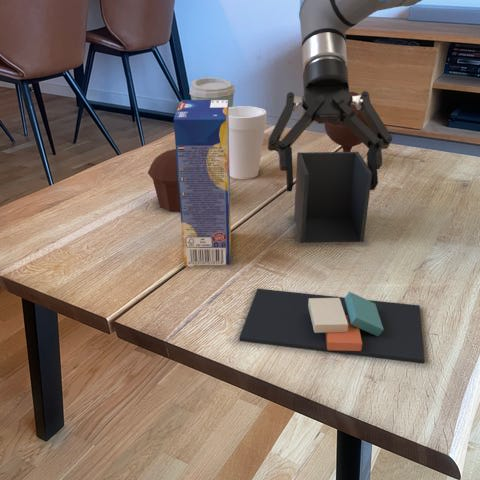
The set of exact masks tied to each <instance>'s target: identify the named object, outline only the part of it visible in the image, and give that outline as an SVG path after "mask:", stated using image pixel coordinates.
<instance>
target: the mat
mask: <svg viewBox="0 0 480 480" xmlns="http://www.w3.org/2000/svg"><path fill="white" fill-rule="evenodd" d="M309 298H340V301H341V304H342V307H343V310H344V313H345V315H348V311H347V307H346V302H345V297H343V296H335V295H334V296H332V295H322V294H316V293H315V294H313V293H303V292H295V291H286V290H285V291H284V290H276V289H275V290H274V289H265V288H257V289H256V292H255V293H254V297H253V300H252V302H251V305H250V308H249V311H248V313H247V316H246V319H245V322H244V324H243V327H242V330H241V332H240V335H239V339H238V340H239V342H244V343H252V344H260V345H269V346H275V347H285V348H294V349H302V350H308V351H309V350H310V351H316V352H317V351H318V352H325V353H334V354H342V355H349V356H358V357H367V358H374V359H375V358H376V359H384V360H389V361H399V362H407V363H417V364H425V362H426V361H425V359H426V358H425V350H424V349H425V348H424V339H423V329H422V318H421V308H420V307H421V306H420V305H419V304H411V303H400V302H391V301H381V300H371V299H368V300H369V301H371V302H373V303H375V305H376V308H377V311H378V314H379V317H380V320H381V323H382V326H383V329H384V330H383V332H382V333H381V334H380V335H379V337H378V336H376V335H373V334H371V333H369V332H367V331H364V330H362V329H360V328H359V330H360V335H361V339H362V349H361V351H340V350H327V343H326V335H325V332H323V333H314V329H313V325H312V320H311V316H310V312H309V308H308V300H309Z"/></svg>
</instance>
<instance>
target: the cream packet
mask: <svg viewBox="0 0 480 480" xmlns="http://www.w3.org/2000/svg"><path fill="white" fill-rule="evenodd" d="M308 308H309V312H310V316H311V320H312V325H313V329H314V333H323V332H347V330H348V322H347V319H346V316H345V313H344V310H343V307H342V304H341V301H340V298H309V300H308Z"/></svg>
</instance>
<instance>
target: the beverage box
mask: <svg viewBox="0 0 480 480" xmlns="http://www.w3.org/2000/svg"><path fill="white" fill-rule="evenodd" d="M173 129H174V131H173V132H174V142H175V143H174V144H175V149H176V158H177V172H178V185H179V198H180V212H179V213H180V225H181V237H182V251H183V265H184V268H185V267H190V268H191V267H192V268H193V267H194V266H204V265H205V266H217V265H218V266H221V265H222V266H225V265H226V266H227V265H228V266H229V265H230V260H231V239H232V229H231V228H232V226H231V225H232V224H231V222H232V221H231V179H230V178H231V177H230V168H229V120H228V100H192V99H181V100H180V102H179V105H178V107H177V110H176V112H175V115H174V117H173Z"/></svg>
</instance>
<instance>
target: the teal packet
mask: <svg viewBox="0 0 480 480" xmlns="http://www.w3.org/2000/svg"><path fill="white" fill-rule="evenodd" d="M344 298H345V302H346V307H347V311H348V315H349V319H350V323H351V325H353V326H355V327H358V328H360V329H362V330H364V331H367V332H369V333H371V334H373V335H376V336H378V337H379V335H380V334H381V333H382V332H383V330H384V329H383V326H382V323H381V320H380V317H379V314H378V311H377V308H376V305H375V303H373V302H371V301H369V300H370V299H366V298H364V297H362V296H360V295H357V294H356V293H354V292H351V291H348V293H347V294H346V296H345V297H344Z"/></svg>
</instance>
